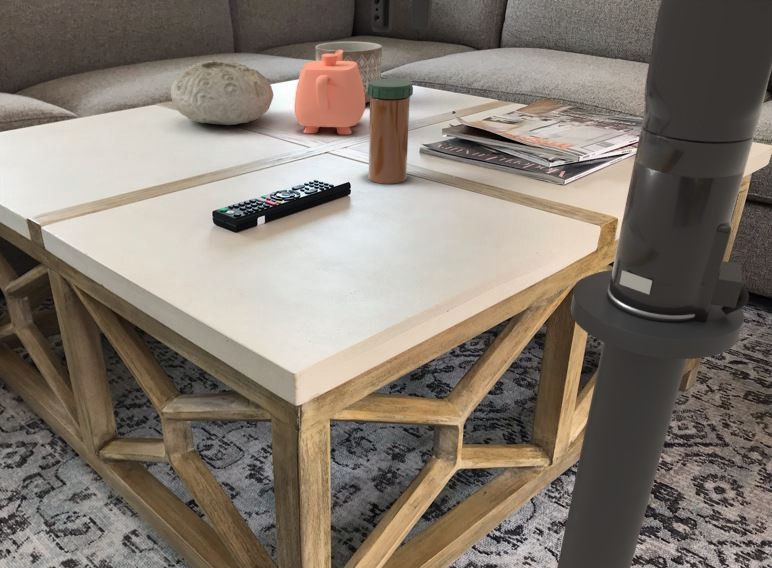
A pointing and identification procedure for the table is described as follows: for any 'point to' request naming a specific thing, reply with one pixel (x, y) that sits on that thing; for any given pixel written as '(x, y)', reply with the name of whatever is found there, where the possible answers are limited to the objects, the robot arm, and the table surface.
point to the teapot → (329, 94)
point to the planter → (357, 58)
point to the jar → (388, 139)
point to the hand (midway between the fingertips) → (402, 30)
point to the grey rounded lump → (221, 93)
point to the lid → (390, 88)
